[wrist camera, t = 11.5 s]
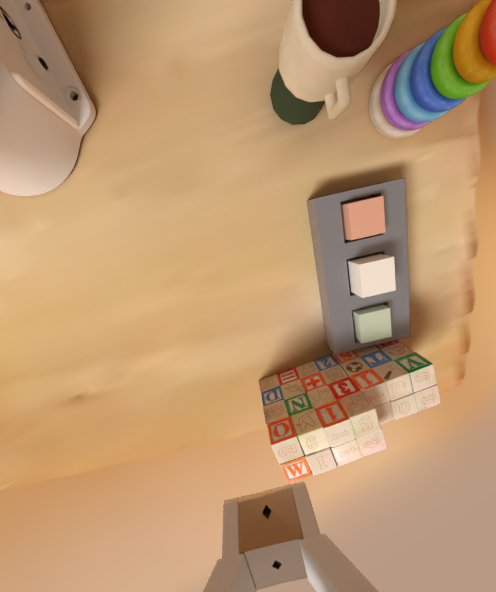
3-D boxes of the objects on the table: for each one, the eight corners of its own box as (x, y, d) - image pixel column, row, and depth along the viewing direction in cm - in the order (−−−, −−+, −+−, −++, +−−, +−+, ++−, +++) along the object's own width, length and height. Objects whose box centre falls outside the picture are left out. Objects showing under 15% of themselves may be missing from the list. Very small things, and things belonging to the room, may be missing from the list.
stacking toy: (374, 152, 31) (571, 55, 13) (357, 81, 29) (564, -149, 11) (434, 125, 31) (717, -11, 13) (421, 51, 29) (739, -233, 11)
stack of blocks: (387, 331, 39) (457, 378, 27) (394, 365, 40) (464, 422, 29) (257, 380, 39) (270, 446, 27) (270, 410, 41) (287, 486, 29)
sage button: (348, 307, 36) (359, 315, 33) (377, 301, 36) (390, 307, 33) (351, 334, 37) (361, 343, 34) (379, 327, 37) (391, 336, 34)
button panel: (306, 200, 32) (314, 198, 29) (389, 182, 33) (405, 177, 30) (327, 344, 38) (335, 354, 35) (396, 328, 38) (410, 336, 36)
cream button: (347, 261, 32) (359, 264, 30) (379, 253, 32) (394, 256, 30) (351, 291, 34) (362, 298, 31) (381, 284, 34) (395, 290, 31)
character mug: (334, 139, 31) (406, 80, 18) (278, 156, 31) (312, 108, 18) (316, 31, 28) (389, -130, 15) (254, 49, 28) (275, -95, 15)
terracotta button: (337, 205, 32) (348, 203, 29) (369, 198, 32) (383, 195, 29) (340, 238, 33) (351, 240, 30) (371, 231, 33) (385, 232, 30)
